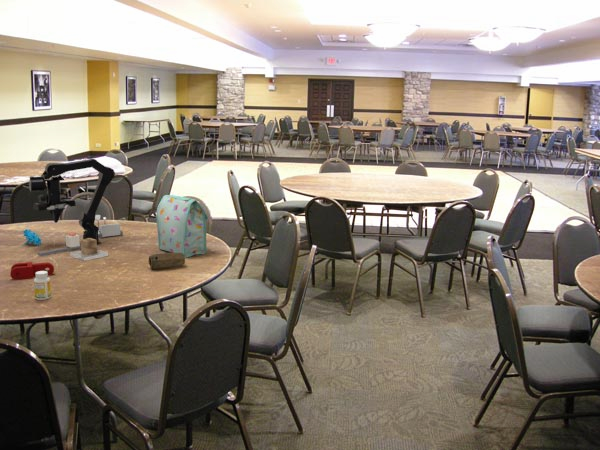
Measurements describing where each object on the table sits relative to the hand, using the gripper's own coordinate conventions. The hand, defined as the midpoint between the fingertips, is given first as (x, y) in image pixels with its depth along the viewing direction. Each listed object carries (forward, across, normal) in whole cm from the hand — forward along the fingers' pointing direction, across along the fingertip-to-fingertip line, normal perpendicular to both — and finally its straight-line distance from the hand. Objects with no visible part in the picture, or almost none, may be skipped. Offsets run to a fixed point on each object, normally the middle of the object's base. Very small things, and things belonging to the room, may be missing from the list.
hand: (55, 222), depth 286 cm
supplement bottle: (+12, +41, +64) cm, 77 cm away
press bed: (+12, -2, +25) cm, 28 cm away
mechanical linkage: (+12, +30, +36) cm, 49 cm away
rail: (+12, +4, +9) cm, 15 cm away
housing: (+10, -2, +25) cm, 27 cm away
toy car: (+13, -32, -8) cm, 35 cm away
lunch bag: (+12, -36, +48) cm, 62 cm away
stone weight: (+12, -14, +65) cm, 68 cm away
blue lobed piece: (+12, +5, -13) cm, 18 cm away
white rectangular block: (+10, -3, +9) cm, 14 cm away
